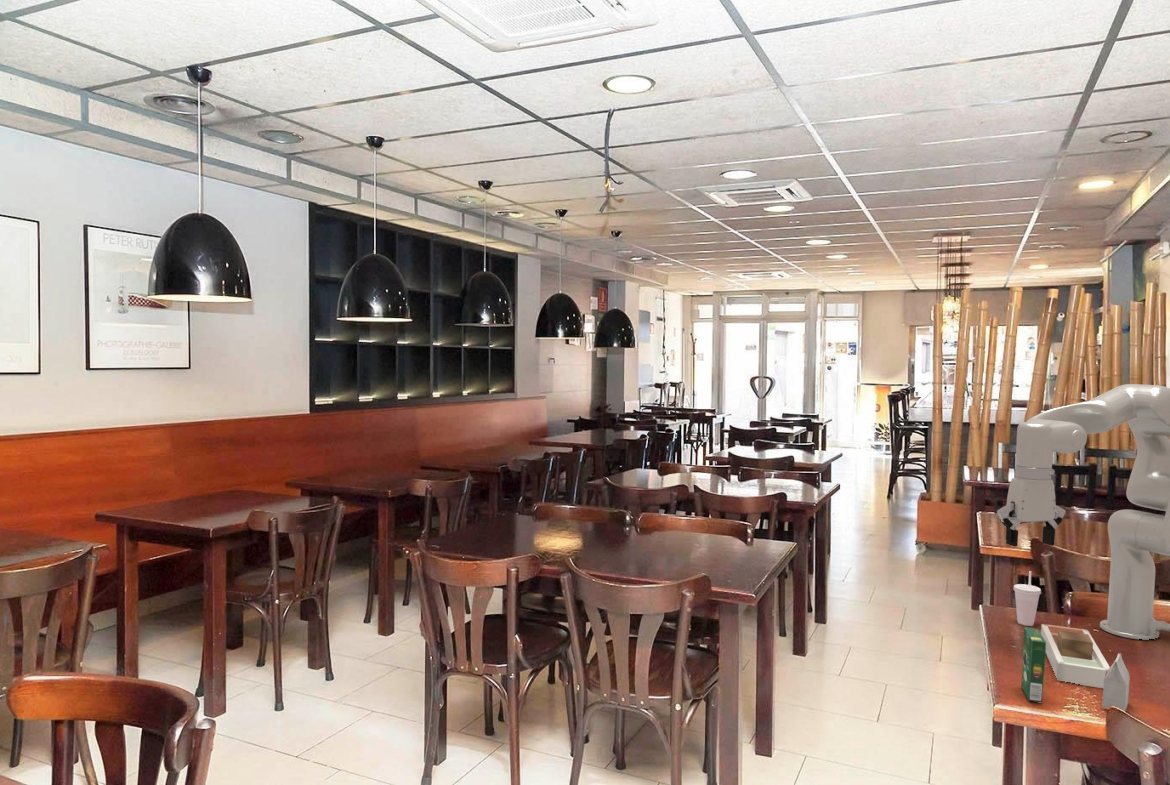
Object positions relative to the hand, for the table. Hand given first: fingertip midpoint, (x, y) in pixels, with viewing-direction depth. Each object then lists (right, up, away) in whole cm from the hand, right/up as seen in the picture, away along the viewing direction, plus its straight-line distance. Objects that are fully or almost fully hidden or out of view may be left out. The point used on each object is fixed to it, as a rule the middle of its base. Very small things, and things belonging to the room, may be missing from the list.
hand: (1030, 544), depth 188 cm
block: (+6, -23, -8) cm, 25 cm away
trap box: (+6, -26, -7) cm, 27 cm away
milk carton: (+1, -27, -29) cm, 40 cm away
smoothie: (+10, -25, +20) cm, 33 cm away
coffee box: (-14, -27, -25) cm, 39 cm away
